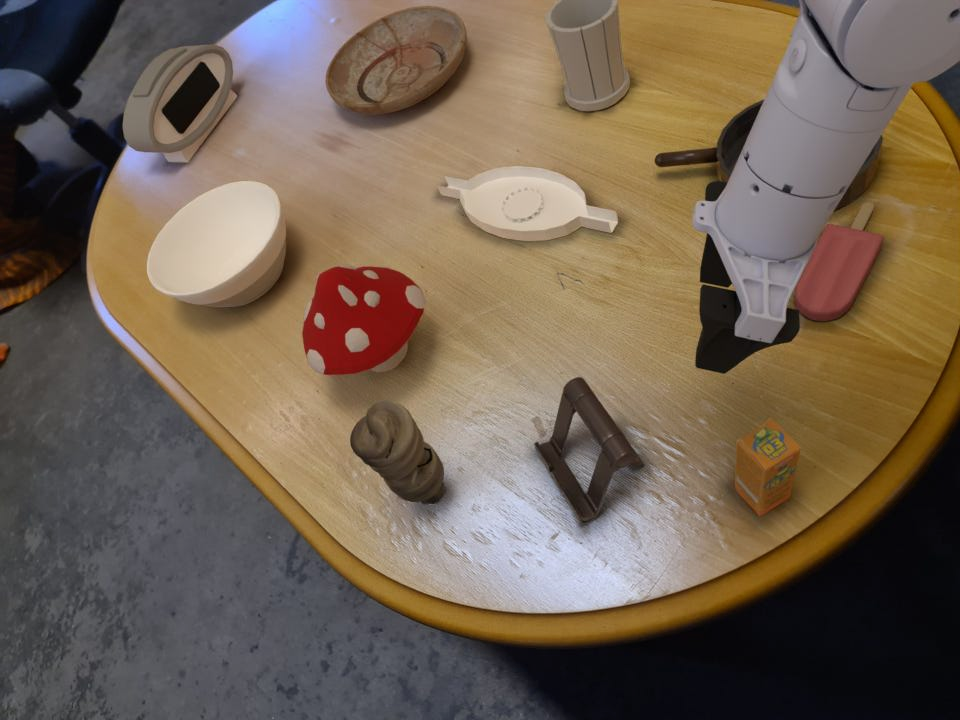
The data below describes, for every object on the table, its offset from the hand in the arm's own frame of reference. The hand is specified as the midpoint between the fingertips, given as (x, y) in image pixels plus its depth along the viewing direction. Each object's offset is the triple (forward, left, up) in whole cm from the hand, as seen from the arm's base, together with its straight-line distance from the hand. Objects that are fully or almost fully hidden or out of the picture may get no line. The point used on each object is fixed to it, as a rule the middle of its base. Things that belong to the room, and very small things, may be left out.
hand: (712, 322), depth 48 cm
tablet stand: (+11, +3, -19) cm, 22 cm away
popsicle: (-11, -20, -19) cm, 29 cm away
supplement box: (-4, +5, -19) cm, 20 cm away
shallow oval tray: (+24, -31, -19) cm, 43 cm away
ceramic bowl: (+49, -61, -19) cm, 80 cm away
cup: (+18, -52, -19) cm, 58 cm away
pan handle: (+4, -34, -17) cm, 38 cm away
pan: (-7, -34, -18) cm, 39 cm away
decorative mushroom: (+36, -9, -19) cm, 41 cm away
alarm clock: (+87, -56, -19) cm, 105 cm away
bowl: (+62, -22, -19) cm, 68 cm away
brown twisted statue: (+26, +7, -19) cm, 33 cm away
